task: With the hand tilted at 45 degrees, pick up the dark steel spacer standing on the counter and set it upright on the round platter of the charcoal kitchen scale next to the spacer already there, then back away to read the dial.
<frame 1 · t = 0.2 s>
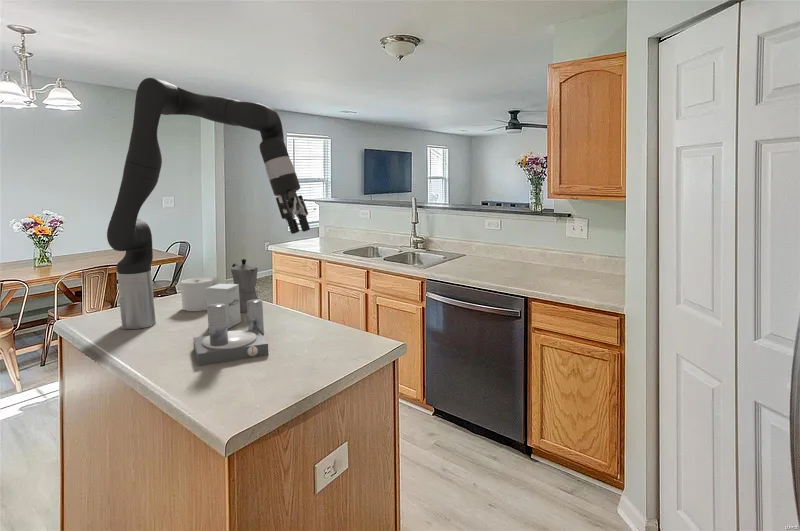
hand: (301, 231, 137), 31 cm above the countertop, tool tilted 20°, fingers open, 8 cm apart
spacer a: (219, 343, 126), point 4 cm above the countertop, touching scale
toilet tissue: (200, 307, 176), on the countertop
coffeepot: (245, 309, 173), on the countertop
supplement box: (225, 325, 154), on the countertop
scale: (230, 351, 131), on the countertop
spacer b: (256, 334, 145), on the countertop
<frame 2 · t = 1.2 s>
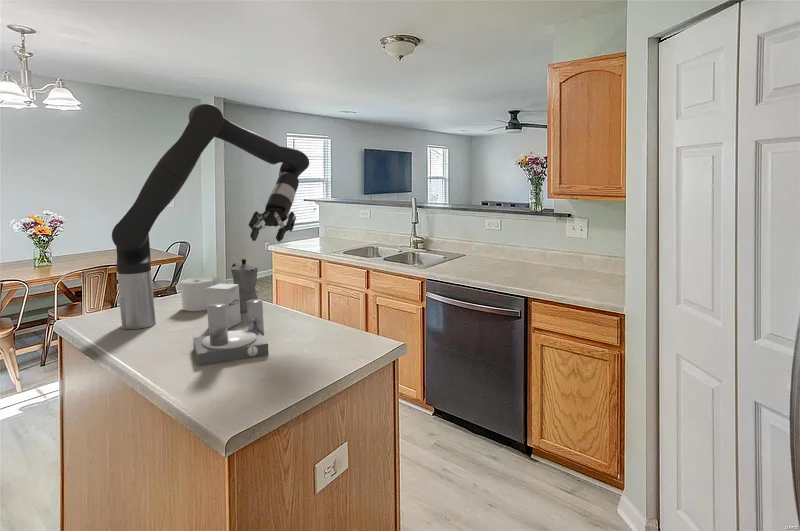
hand: (265, 239, 152), 27 cm above the countertop, tool tilted 45°, fingers open, 8 cm apart
nothing on the countertop moved.
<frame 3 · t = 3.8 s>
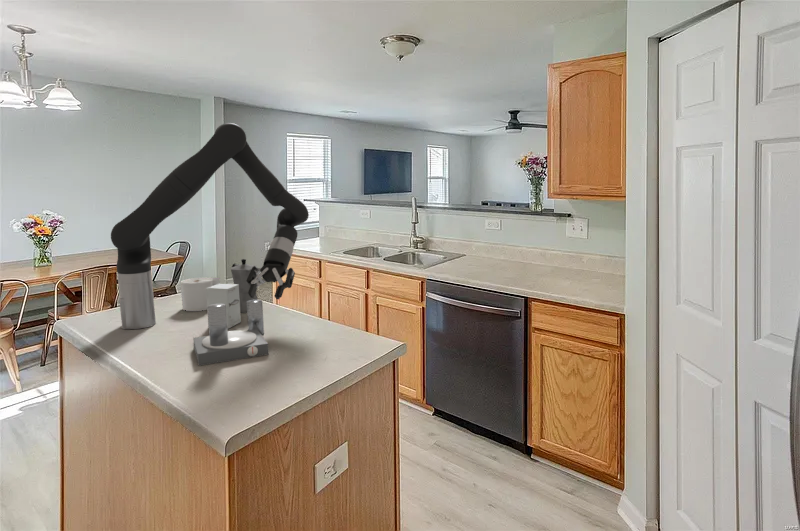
hand: (263, 297, 149), 10 cm above the countertop, tool tilted 45°, fingers open, 8 cm apart
nothing on the countertop moved.
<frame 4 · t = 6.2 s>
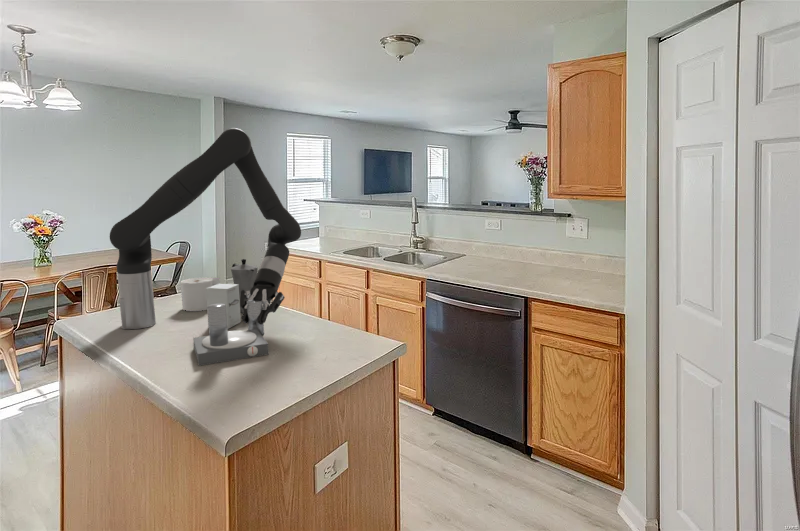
hand: (252, 322, 143), 4 cm above the countertop, tool tilted 45°, fingers closed on spacer b, 4 cm apart
spacer b: (256, 334, 145), on the countertop, touching gripper
everything else where it was.
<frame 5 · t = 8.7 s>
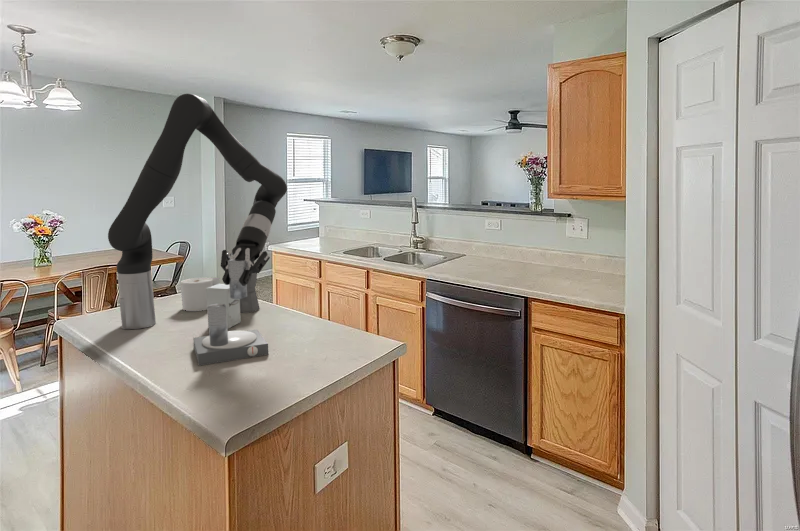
hand: (234, 283, 130), 18 cm above the countertop, tool tilted 45°, fingers closed on spacer b, 4 cm apart
spacer b: (238, 296, 133), point 14 cm above the countertop, touching gripper
everything else where it was.
when the fingers open (9 cm above the countertop, at t = 11.3 s): spacer b drops 1 cm, resting on scale.
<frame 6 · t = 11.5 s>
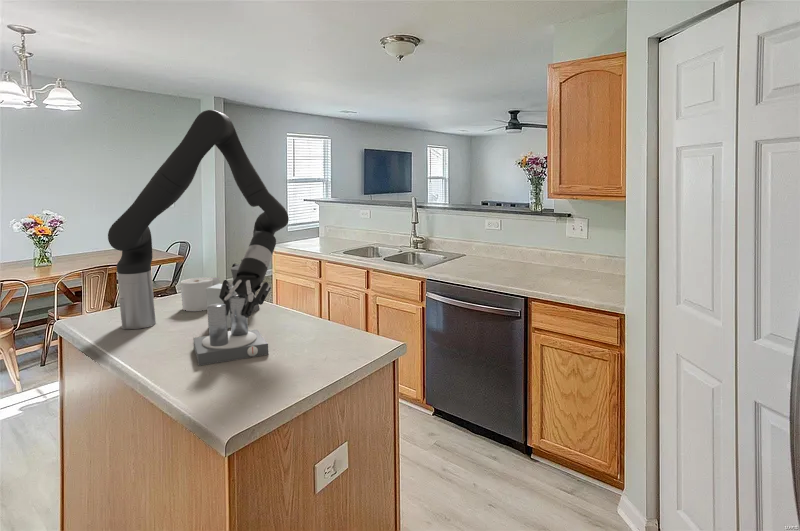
hand: (234, 315, 131), 9 cm above the countertop, tool tilted 45°, fingers open, 6 cm apart
spacer b: (239, 333, 134), point 4 cm above the countertop, touching scale
everything else where it was.
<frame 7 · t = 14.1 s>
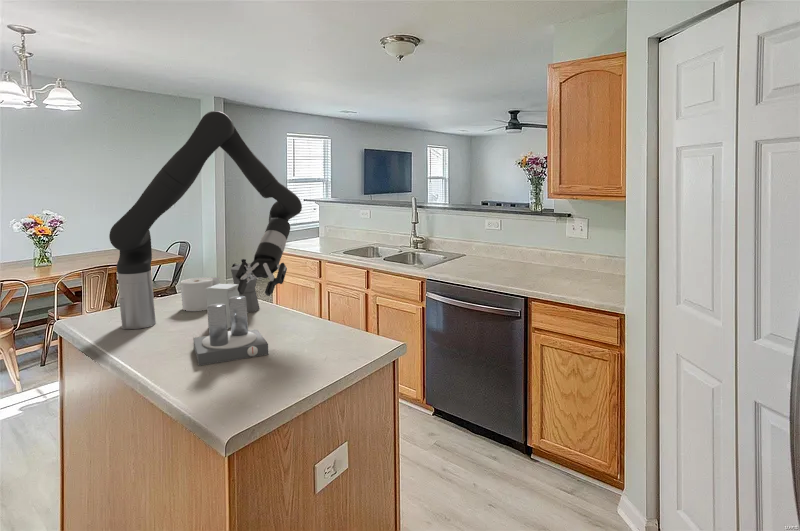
hand: (253, 293, 141), 13 cm above the countertop, tool tilted 45°, fingers open, 8 cm apart
nothing on the countertop moved.
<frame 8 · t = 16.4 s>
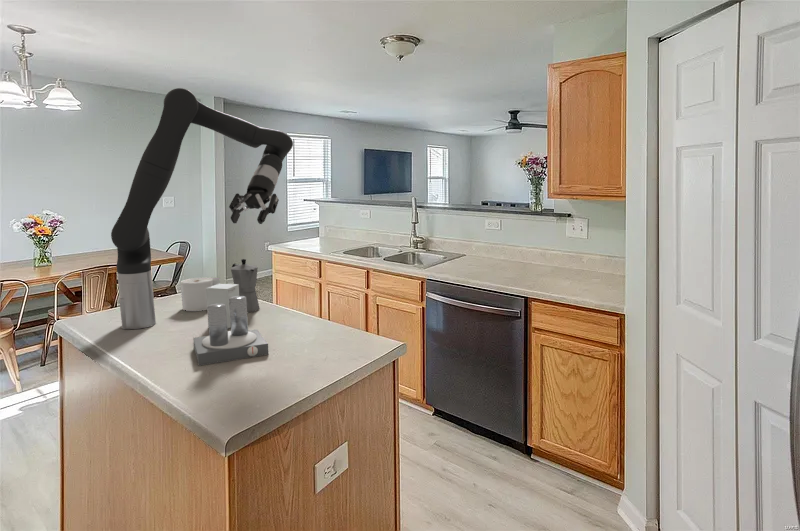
hand: (246, 222, 146), 33 cm above the countertop, tool tilted 45°, fingers open, 8 cm apart
nothing on the countertop moved.
at the end: spacer b 0.1 cm from the target spot on the scale, point 3.6 cm above the scale's base; spacer b tilted 0°; spacer a moved 0.1 cm from its start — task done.
